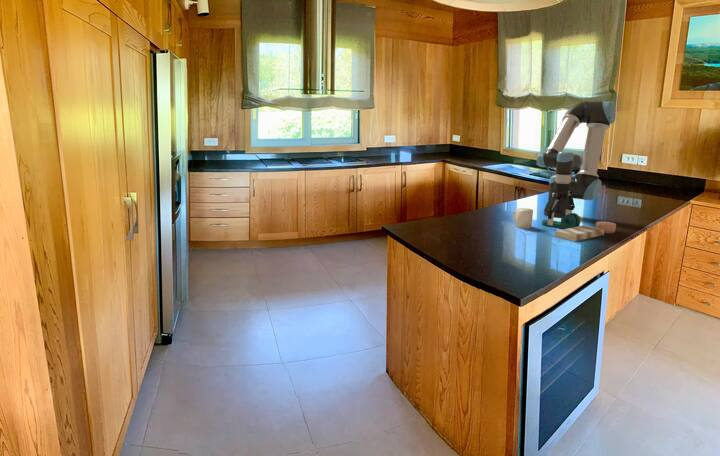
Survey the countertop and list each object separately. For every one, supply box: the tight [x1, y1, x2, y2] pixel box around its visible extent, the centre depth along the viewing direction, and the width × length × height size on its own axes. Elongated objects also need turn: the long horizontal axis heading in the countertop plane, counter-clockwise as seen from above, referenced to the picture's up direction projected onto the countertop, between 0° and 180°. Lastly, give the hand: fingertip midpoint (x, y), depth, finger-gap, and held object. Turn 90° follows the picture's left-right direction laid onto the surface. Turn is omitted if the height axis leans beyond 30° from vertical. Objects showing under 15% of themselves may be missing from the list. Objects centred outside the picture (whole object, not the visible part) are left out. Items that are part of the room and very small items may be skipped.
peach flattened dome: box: [595, 221, 617, 234], centre depth 249 cm, size 9×9×4 cm
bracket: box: [541, 212, 581, 230], centre depth 258 cm, size 18×7×8 cm, turn 42°
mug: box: [512, 207, 534, 230], centre depth 259 cm, size 8×11×9 cm
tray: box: [554, 225, 605, 242], centre depth 241 cm, size 22×11×3 cm, turn 121°
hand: (558, 223), depth 258 cm, fingers open, 13 cm apart
